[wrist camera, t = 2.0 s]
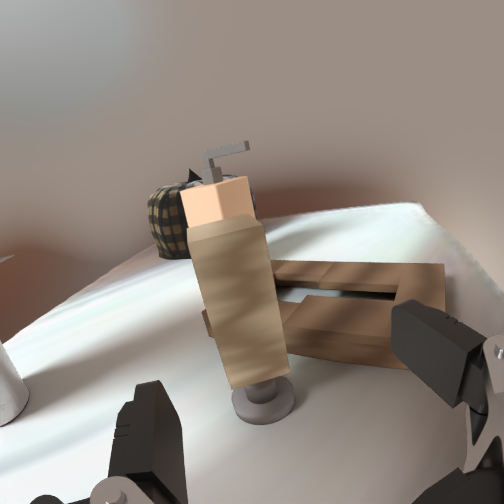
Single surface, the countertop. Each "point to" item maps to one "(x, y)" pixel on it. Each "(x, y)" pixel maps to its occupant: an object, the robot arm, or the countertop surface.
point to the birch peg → (244, 314)
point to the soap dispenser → (218, 191)
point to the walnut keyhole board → (350, 307)
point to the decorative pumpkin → (174, 217)
